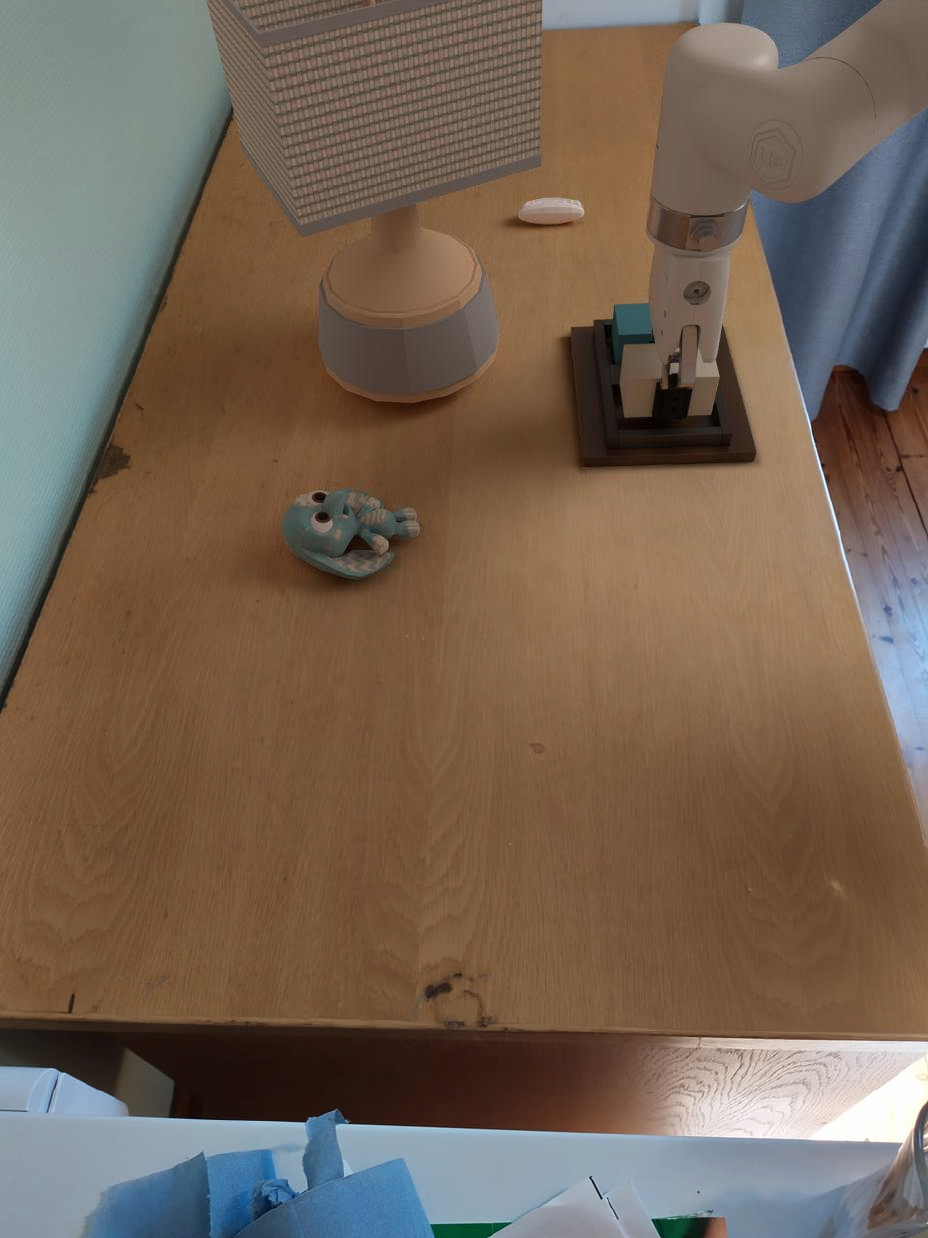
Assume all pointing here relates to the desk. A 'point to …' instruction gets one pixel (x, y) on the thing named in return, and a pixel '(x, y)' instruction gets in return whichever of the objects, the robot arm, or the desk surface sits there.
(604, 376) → the back plate
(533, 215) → the white soap bar
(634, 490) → the desk surface
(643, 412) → the cream pad
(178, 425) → the desk surface
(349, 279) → the desk lamp
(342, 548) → the stuffed animal
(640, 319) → the teal pad
